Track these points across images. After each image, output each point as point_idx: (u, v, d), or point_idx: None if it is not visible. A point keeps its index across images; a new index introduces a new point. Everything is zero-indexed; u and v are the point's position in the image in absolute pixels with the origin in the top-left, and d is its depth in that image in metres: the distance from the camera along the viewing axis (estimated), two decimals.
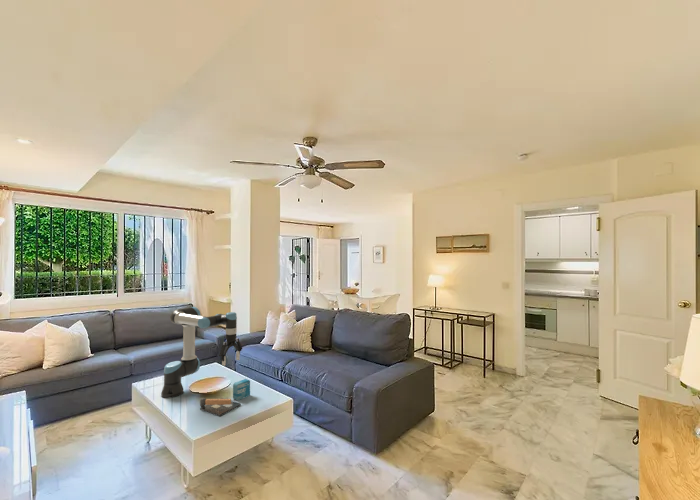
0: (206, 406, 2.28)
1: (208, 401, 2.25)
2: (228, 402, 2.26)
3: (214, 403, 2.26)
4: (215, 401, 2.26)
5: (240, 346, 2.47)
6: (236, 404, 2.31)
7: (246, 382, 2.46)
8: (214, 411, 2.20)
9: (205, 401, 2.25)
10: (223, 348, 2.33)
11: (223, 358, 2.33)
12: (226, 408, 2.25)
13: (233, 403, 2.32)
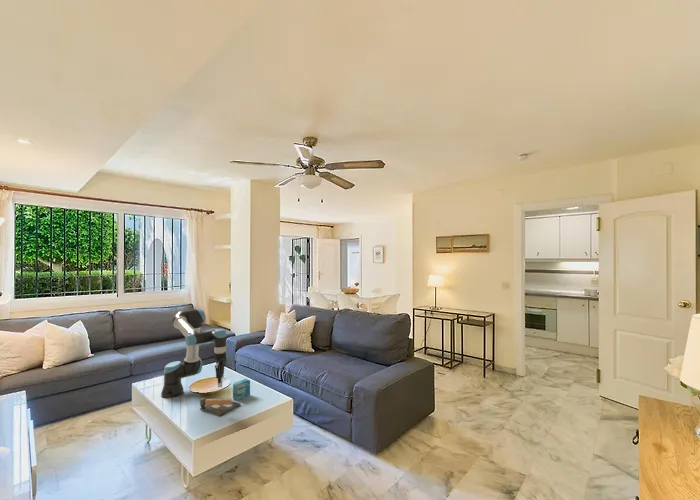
0: (206, 406, 2.28)
1: (208, 401, 2.25)
2: (228, 402, 2.26)
3: (214, 403, 2.26)
4: (215, 401, 2.26)
5: (223, 370, 2.26)
6: (236, 404, 2.31)
7: (246, 382, 2.46)
8: (214, 411, 2.20)
9: (205, 401, 2.25)
10: (218, 371, 2.18)
11: (220, 380, 2.21)
12: (226, 408, 2.25)
13: (233, 403, 2.32)
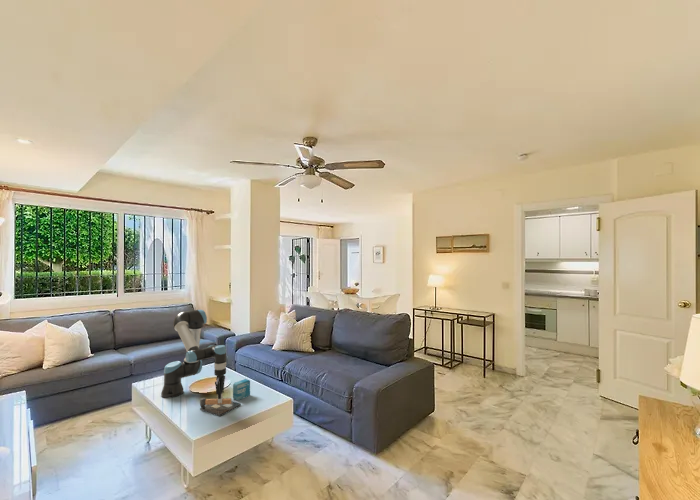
0: (206, 406, 2.28)
1: (208, 401, 2.26)
2: (228, 402, 2.26)
3: (214, 403, 2.26)
4: (215, 401, 2.26)
5: (223, 385, 2.29)
6: (236, 404, 2.31)
7: (246, 382, 2.46)
8: (214, 411, 2.20)
9: (205, 401, 2.25)
10: (218, 387, 2.21)
11: (220, 395, 2.24)
12: (226, 408, 2.25)
13: (233, 403, 2.32)
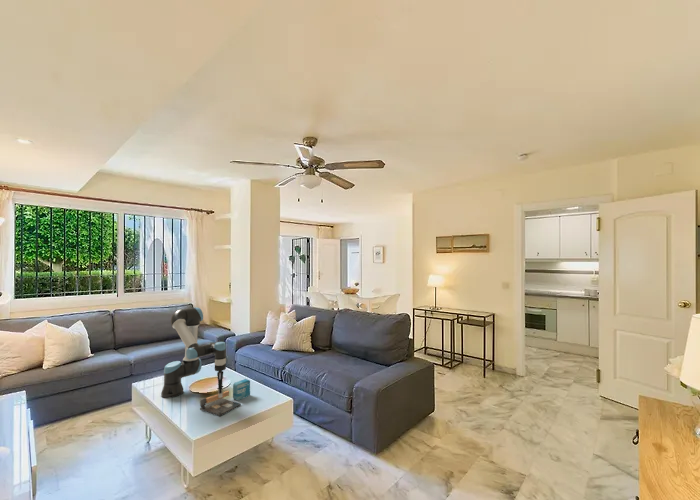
0: (206, 406, 2.28)
1: (209, 399, 2.29)
2: (227, 394, 2.40)
3: (215, 399, 2.32)
4: (216, 397, 2.33)
5: None
6: (236, 404, 2.31)
7: (246, 382, 2.46)
8: (214, 411, 2.20)
9: (206, 400, 2.27)
10: (221, 382, 2.30)
11: (221, 390, 2.33)
12: (226, 408, 2.25)
13: (233, 403, 2.32)
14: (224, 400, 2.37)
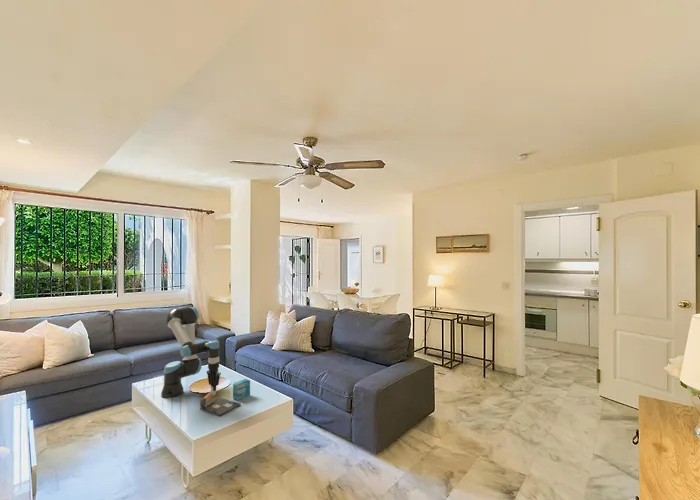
0: (206, 406, 2.28)
1: (207, 398, 2.31)
2: None
3: (209, 397, 2.35)
4: (210, 395, 2.35)
5: None
6: (236, 404, 2.31)
7: (246, 382, 2.46)
8: (214, 411, 2.20)
9: (206, 399, 2.29)
10: (218, 378, 2.37)
11: (215, 387, 2.38)
12: (226, 408, 2.25)
13: (233, 403, 2.32)
14: (224, 400, 2.37)
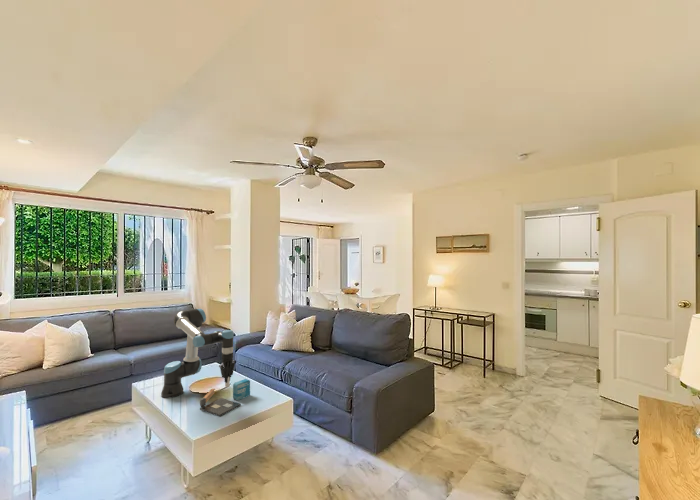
0: (206, 406, 2.28)
1: (207, 398, 2.31)
2: None
3: (209, 397, 2.35)
4: (209, 395, 2.35)
5: (232, 370, 2.32)
6: (236, 404, 2.31)
7: (246, 382, 2.46)
8: (214, 411, 2.20)
9: (205, 399, 2.29)
10: (222, 371, 2.25)
11: (226, 379, 2.28)
12: (226, 408, 2.25)
13: (233, 403, 2.32)
14: (224, 400, 2.37)
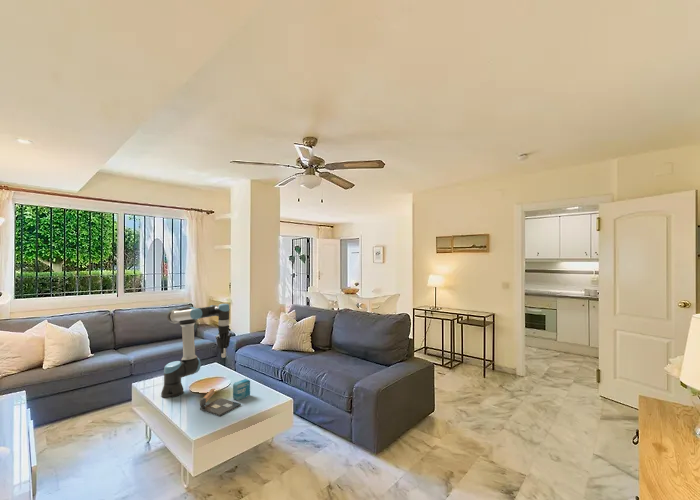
0: (206, 406, 2.28)
1: (207, 398, 2.31)
2: None
3: (209, 397, 2.35)
4: (209, 395, 2.35)
5: (228, 342, 2.42)
6: (236, 404, 2.31)
7: (246, 382, 2.46)
8: (214, 411, 2.20)
9: (205, 399, 2.29)
10: (219, 342, 2.35)
11: (222, 350, 2.38)
12: (226, 408, 2.25)
13: (233, 403, 2.32)
14: (224, 400, 2.37)
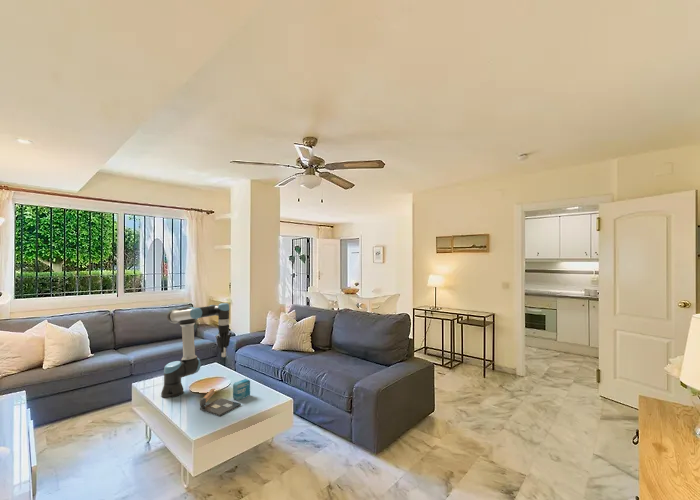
0: (206, 406, 2.28)
1: (207, 398, 2.31)
2: None
3: (209, 397, 2.35)
4: (209, 395, 2.35)
5: (228, 341, 2.42)
6: (236, 404, 2.31)
7: (246, 382, 2.46)
8: (214, 411, 2.20)
9: (205, 399, 2.29)
10: (219, 341, 2.35)
11: (222, 350, 2.38)
12: (226, 408, 2.25)
13: (233, 403, 2.32)
14: (224, 400, 2.37)
